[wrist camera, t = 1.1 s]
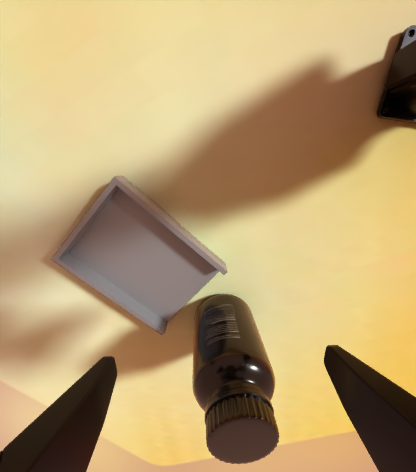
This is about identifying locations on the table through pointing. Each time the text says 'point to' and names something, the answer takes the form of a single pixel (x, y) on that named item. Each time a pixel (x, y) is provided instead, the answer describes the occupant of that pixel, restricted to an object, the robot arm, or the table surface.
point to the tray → (137, 255)
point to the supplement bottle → (233, 381)
